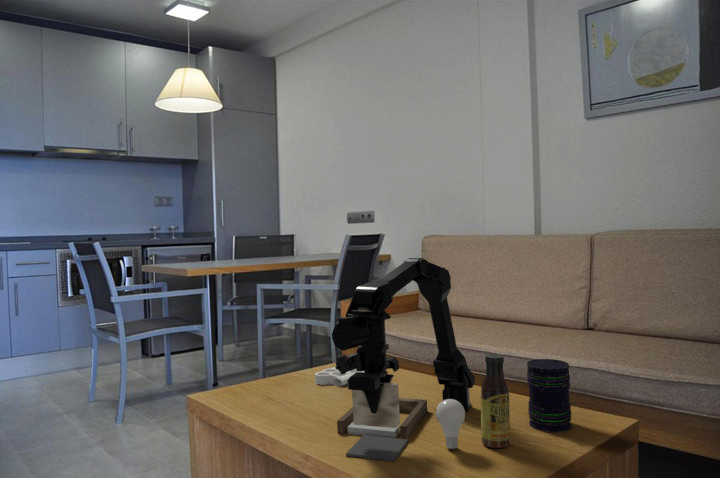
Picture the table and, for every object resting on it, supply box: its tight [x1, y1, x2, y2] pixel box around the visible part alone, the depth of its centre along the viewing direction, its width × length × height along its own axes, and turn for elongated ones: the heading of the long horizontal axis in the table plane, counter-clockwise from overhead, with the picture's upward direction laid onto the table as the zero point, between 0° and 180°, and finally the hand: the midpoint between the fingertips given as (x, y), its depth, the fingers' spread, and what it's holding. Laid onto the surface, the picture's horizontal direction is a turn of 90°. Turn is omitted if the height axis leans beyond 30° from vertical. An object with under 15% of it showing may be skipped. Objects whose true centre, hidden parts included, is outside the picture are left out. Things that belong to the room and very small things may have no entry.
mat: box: [345, 435, 409, 462], centre depth 125 cm, size 11×11×1 cm
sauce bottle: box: [480, 353, 511, 449], centre depth 124 cm, size 7×6×20 cm
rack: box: [336, 397, 428, 439], centre depth 142 cm, size 18×20×3 cm
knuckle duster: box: [314, 366, 364, 387], centre depth 185 cm, size 3×18×15 cm
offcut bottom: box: [347, 431, 400, 438], centre depth 135 cm, size 12×4×1 cm, turn 70°
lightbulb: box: [435, 399, 466, 450], centre depth 123 cm, size 6×6×11 cm
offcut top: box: [347, 422, 400, 437], centre depth 135 cm, size 12×4×1 cm, turn 68°
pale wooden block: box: [351, 382, 401, 428], centre depth 125 cm, size 10×3×9 cm, turn 70°
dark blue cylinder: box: [526, 358, 572, 433], centre depth 135 cm, size 10×10×15 cm
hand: (376, 410), depth 125 cm, fingers closed on pale wooden block, 3 cm apart
